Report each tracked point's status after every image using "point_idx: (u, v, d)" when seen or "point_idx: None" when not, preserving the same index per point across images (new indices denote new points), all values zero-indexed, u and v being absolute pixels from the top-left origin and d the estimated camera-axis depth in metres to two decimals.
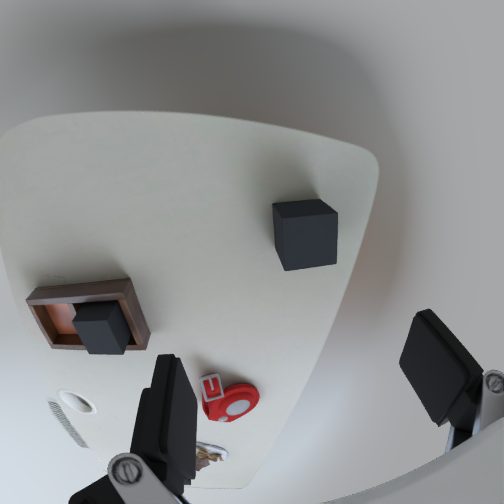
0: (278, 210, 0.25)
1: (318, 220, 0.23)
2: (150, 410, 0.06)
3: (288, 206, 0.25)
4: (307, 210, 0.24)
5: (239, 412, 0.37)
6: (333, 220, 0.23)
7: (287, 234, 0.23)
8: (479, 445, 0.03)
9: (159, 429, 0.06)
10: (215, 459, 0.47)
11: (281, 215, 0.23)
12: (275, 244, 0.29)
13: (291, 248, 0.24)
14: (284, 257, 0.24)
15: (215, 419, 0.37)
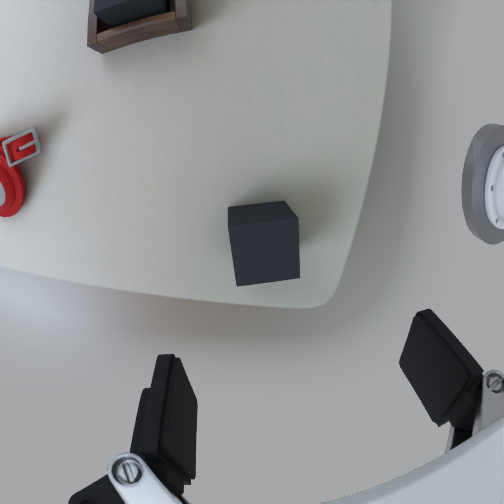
0: None
1: (293, 258, 0.21)
2: (150, 410, 0.06)
3: None
4: None
5: None
6: (291, 274, 0.21)
7: (278, 225, 0.19)
8: (479, 445, 0.03)
9: (159, 430, 0.06)
10: None
11: (295, 215, 0.20)
12: (235, 207, 0.23)
13: (260, 230, 0.19)
14: (247, 223, 0.19)
15: None
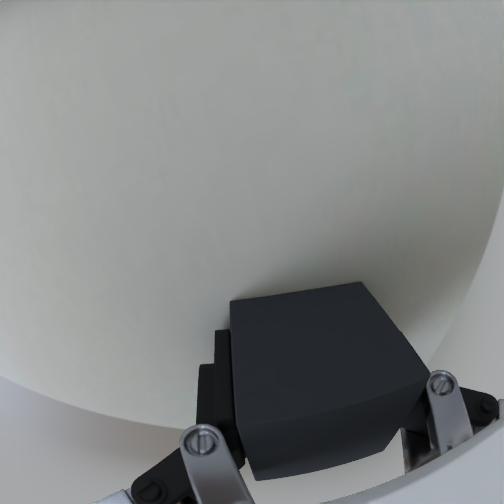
0: None
1: (385, 436, 0.07)
2: (219, 380, 0.07)
3: None
4: None
5: None
6: (370, 453, 0.07)
7: (381, 402, 0.05)
8: (479, 445, 0.03)
9: (232, 396, 0.07)
10: None
11: (417, 358, 0.06)
12: (247, 302, 0.09)
13: (331, 421, 0.05)
14: (296, 414, 0.05)
15: None
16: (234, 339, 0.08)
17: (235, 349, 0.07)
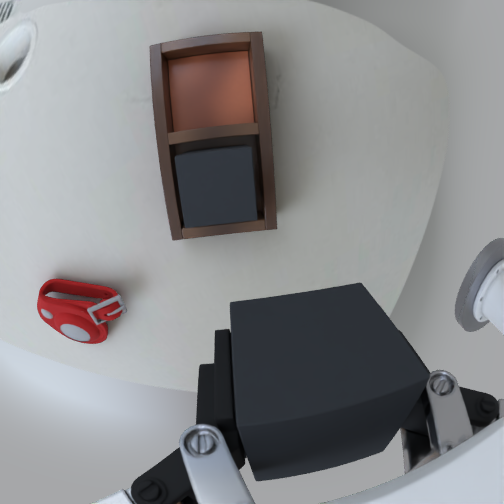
0: None
1: (385, 437, 0.07)
2: (218, 380, 0.07)
3: None
4: None
5: (67, 333, 0.25)
6: (370, 453, 0.07)
7: (381, 403, 0.05)
8: (479, 445, 0.03)
9: (231, 396, 0.07)
10: None
11: (417, 359, 0.06)
12: (247, 303, 0.09)
13: (331, 422, 0.05)
14: (297, 415, 0.05)
15: (44, 307, 0.23)
16: (234, 340, 0.08)
17: (235, 350, 0.07)
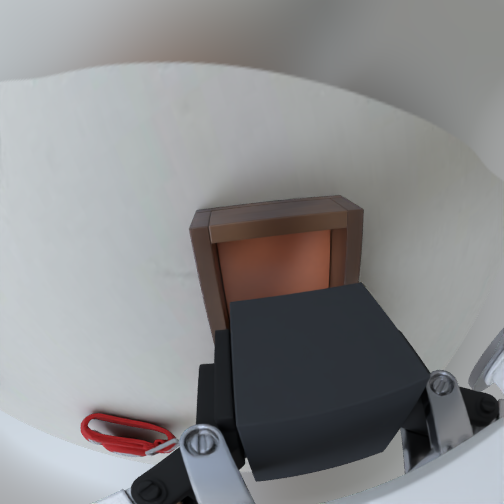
0: None
1: (385, 436, 0.07)
2: (218, 380, 0.07)
3: None
4: None
5: (117, 453, 0.22)
6: (370, 453, 0.07)
7: (381, 403, 0.05)
8: (479, 445, 0.03)
9: (231, 396, 0.07)
10: None
11: (417, 359, 0.06)
12: (247, 303, 0.09)
13: (331, 422, 0.05)
14: (296, 415, 0.05)
15: (93, 440, 0.20)
16: (234, 340, 0.08)
17: (235, 350, 0.07)
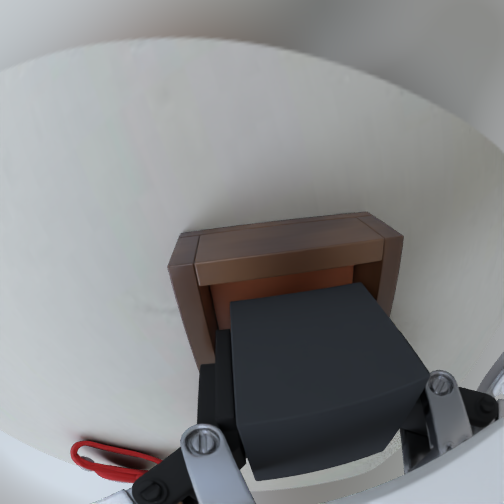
0: None
1: (385, 436, 0.07)
2: (219, 379, 0.07)
3: None
4: None
5: None
6: (370, 453, 0.07)
7: (381, 402, 0.05)
8: (479, 445, 0.03)
9: (232, 396, 0.07)
10: None
11: (417, 359, 0.06)
12: (247, 302, 0.09)
13: (331, 421, 0.05)
14: (296, 414, 0.05)
15: (84, 467, 0.16)
16: (234, 339, 0.08)
17: (235, 349, 0.07)
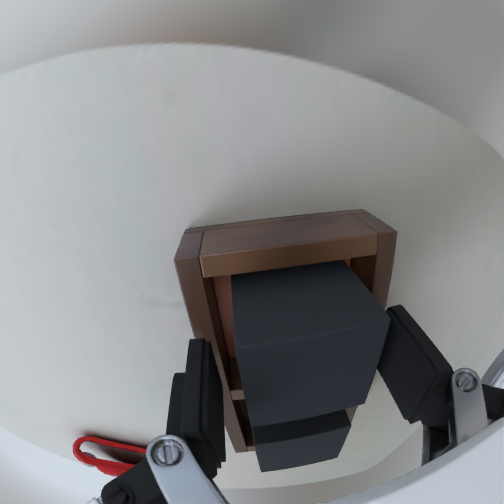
0: None
1: (362, 383, 0.09)
2: (188, 391, 0.07)
3: None
4: None
5: None
6: (352, 403, 0.10)
7: (349, 337, 0.08)
8: (479, 445, 0.03)
9: (199, 409, 0.06)
10: None
11: None
12: None
13: (309, 352, 0.08)
14: (281, 340, 0.08)
15: (86, 463, 0.17)
16: (234, 292, 0.10)
17: (234, 299, 0.10)
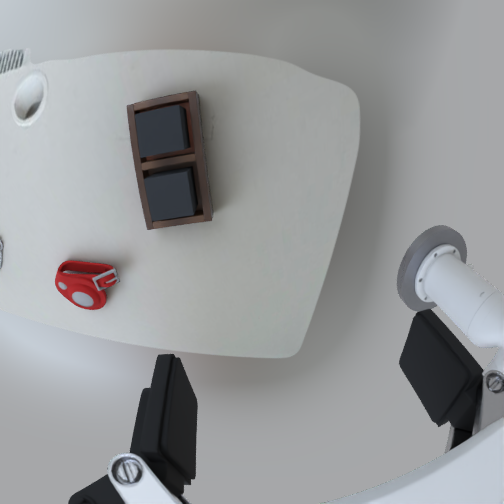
0: (182, 108, 0.27)
1: (177, 133, 0.26)
2: (150, 410, 0.06)
3: (185, 117, 0.28)
4: (184, 128, 0.27)
5: (76, 300, 0.36)
6: (177, 146, 0.26)
7: (166, 110, 0.25)
8: (479, 445, 0.03)
9: (159, 429, 0.06)
10: None
11: (180, 106, 0.25)
12: None
13: (154, 115, 0.25)
14: (146, 112, 0.25)
15: (61, 280, 0.34)
16: None
17: None
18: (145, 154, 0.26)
